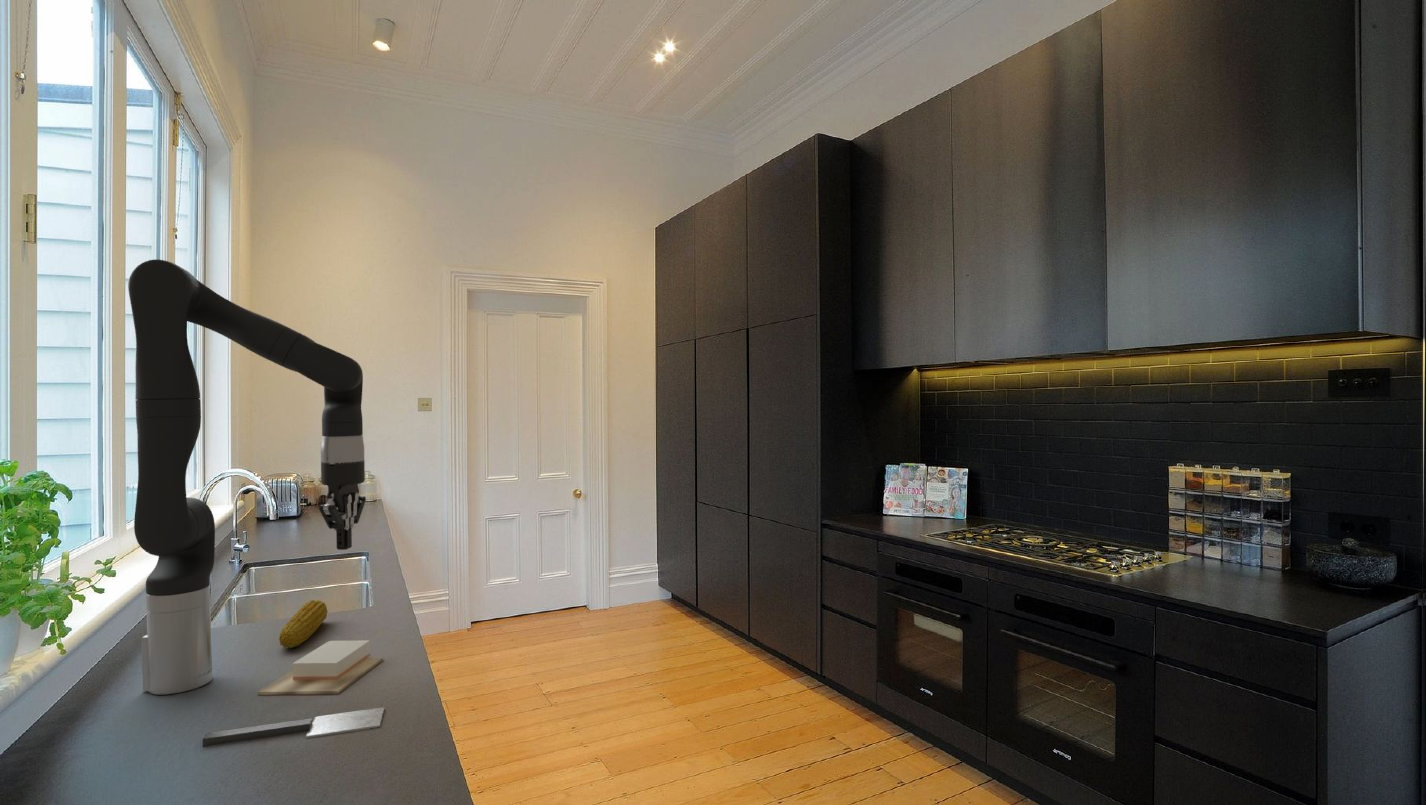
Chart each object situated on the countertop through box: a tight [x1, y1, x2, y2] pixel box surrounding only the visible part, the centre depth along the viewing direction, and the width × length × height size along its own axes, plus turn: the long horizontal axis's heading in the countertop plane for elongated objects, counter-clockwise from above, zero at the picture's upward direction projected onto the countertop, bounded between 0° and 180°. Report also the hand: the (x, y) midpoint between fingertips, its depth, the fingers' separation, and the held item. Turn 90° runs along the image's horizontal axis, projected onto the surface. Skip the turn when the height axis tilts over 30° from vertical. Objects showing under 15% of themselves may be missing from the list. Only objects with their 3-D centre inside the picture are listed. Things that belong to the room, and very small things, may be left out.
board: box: [257, 657, 384, 696], centre depth 133 cm, size 14×16×1 cm
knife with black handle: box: [202, 706, 385, 748], centre depth 112 cm, size 24×7×1 cm, turn 108°
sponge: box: [291, 639, 371, 680], centre depth 137 cm, size 8×3×12 cm
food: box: [278, 599, 328, 649], centre depth 156 cm, size 21×6×6 cm, turn 15°
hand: (344, 548), depth 141 cm, fingers closed
